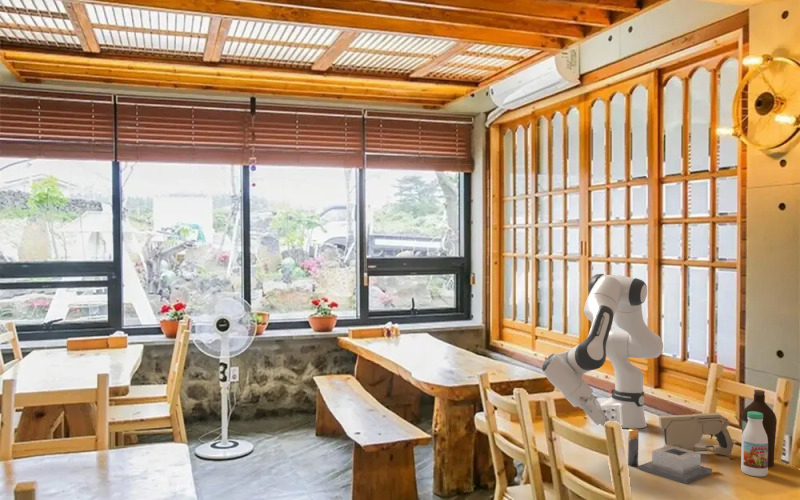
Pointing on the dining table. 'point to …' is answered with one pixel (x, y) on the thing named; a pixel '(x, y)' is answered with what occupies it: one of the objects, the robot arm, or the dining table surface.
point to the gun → (696, 431)
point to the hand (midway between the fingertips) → (609, 425)
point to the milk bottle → (754, 446)
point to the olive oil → (768, 421)
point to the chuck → (676, 464)
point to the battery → (633, 447)
